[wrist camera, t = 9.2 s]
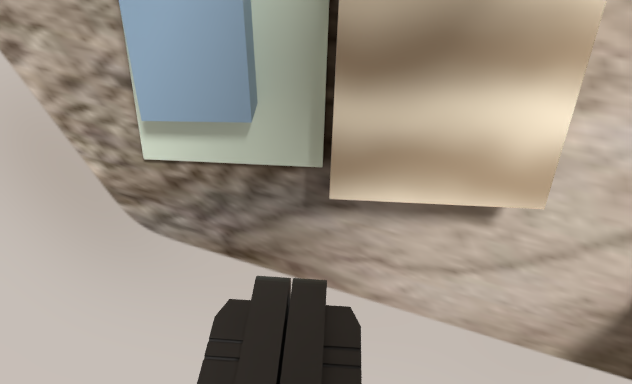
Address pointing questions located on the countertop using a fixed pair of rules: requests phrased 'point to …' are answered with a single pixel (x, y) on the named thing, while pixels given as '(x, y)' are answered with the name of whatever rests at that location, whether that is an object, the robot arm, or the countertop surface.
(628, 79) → the countertop surface
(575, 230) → the countertop surface
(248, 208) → the countertop surface
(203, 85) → the tile
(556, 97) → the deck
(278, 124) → the mat
